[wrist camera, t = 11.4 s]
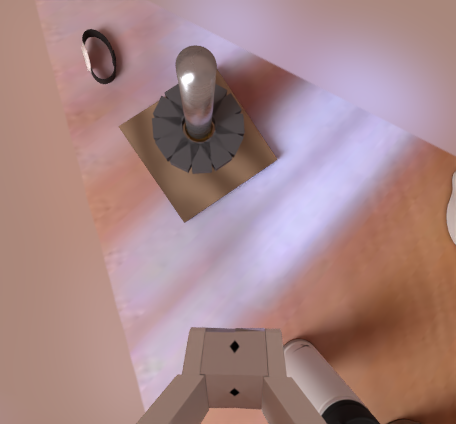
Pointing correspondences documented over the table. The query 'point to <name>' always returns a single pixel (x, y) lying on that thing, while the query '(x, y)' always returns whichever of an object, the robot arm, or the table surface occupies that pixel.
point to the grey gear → (198, 151)
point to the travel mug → (324, 385)
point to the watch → (85, 36)
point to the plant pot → (404, 422)
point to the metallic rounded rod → (197, 90)
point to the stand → (188, 182)
